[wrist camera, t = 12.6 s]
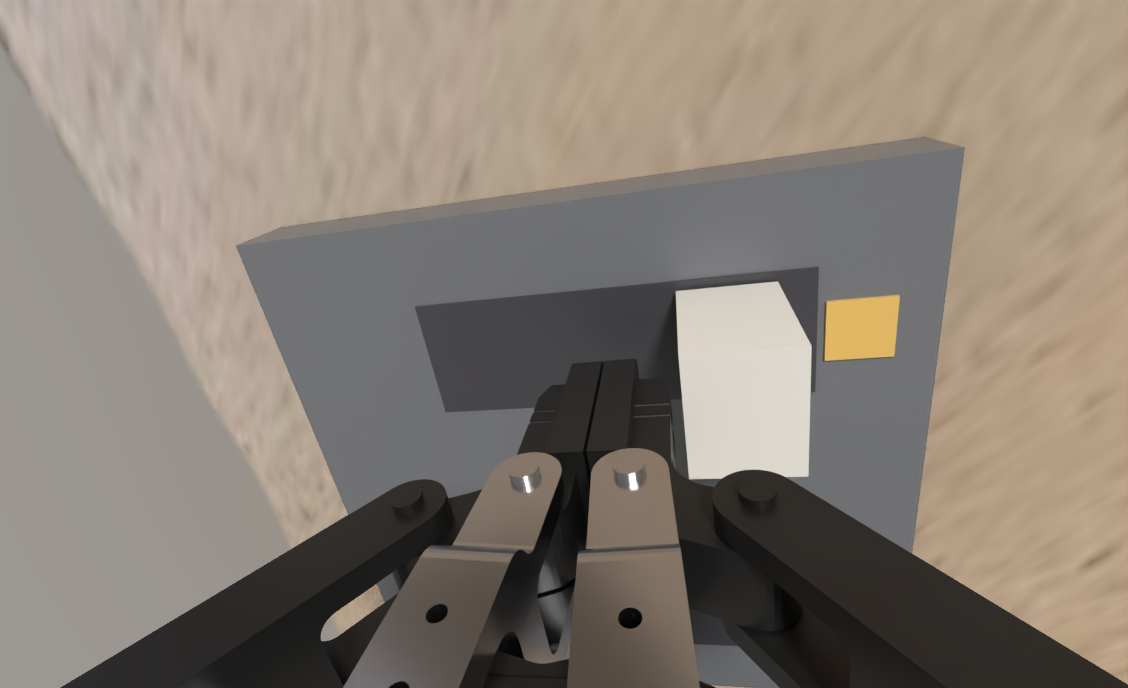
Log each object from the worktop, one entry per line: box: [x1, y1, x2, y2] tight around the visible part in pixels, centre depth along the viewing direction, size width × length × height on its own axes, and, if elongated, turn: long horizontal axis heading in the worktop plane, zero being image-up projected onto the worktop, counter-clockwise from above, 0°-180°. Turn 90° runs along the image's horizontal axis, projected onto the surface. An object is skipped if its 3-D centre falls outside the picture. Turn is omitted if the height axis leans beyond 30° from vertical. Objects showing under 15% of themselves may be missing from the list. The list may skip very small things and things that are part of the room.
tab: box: [676, 281, 812, 479], centre depth 13 cm, size 2×3×4 cm
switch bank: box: [236, 137, 965, 688], centre depth 18 cm, size 18×18×2 cm
